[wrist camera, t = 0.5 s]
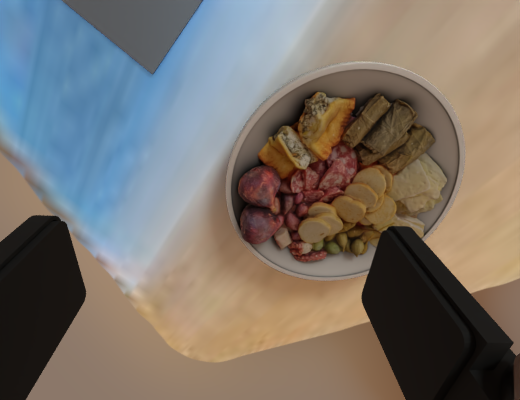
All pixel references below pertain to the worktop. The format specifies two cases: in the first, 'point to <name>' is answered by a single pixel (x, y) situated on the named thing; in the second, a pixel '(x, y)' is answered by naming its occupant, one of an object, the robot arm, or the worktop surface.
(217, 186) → the worktop surface
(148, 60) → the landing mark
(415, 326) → the robot arm
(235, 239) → the worktop surface
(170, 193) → the worktop surface
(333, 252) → the bowl
